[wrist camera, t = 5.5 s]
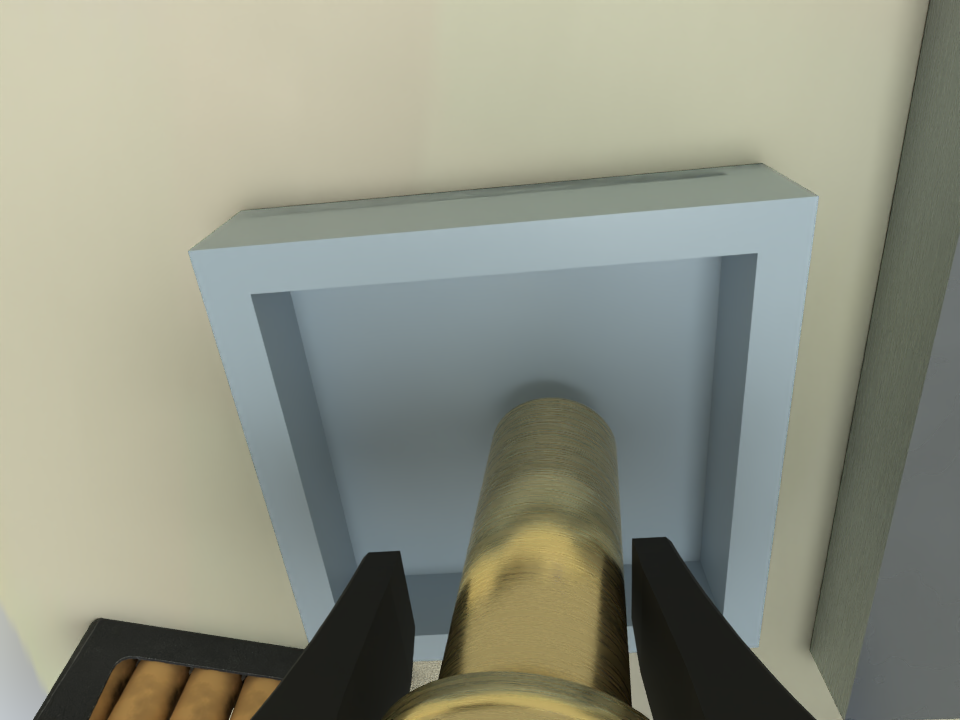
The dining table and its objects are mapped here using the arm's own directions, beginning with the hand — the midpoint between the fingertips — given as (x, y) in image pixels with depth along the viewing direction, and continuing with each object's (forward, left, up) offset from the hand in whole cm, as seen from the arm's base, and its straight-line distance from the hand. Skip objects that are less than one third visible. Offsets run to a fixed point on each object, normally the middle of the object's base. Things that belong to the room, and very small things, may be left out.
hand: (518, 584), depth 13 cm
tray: (0, 0, -6) cm, 6 cm away
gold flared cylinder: (0, -1, -4) cm, 4 cm away
